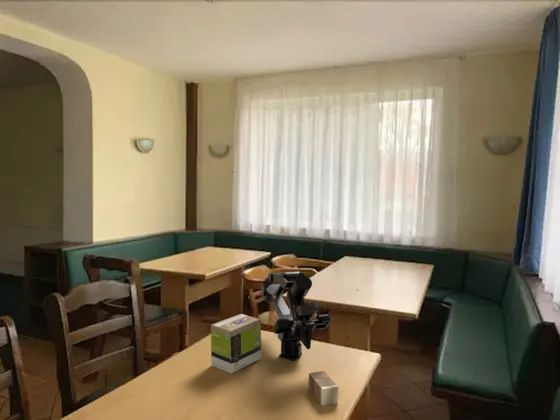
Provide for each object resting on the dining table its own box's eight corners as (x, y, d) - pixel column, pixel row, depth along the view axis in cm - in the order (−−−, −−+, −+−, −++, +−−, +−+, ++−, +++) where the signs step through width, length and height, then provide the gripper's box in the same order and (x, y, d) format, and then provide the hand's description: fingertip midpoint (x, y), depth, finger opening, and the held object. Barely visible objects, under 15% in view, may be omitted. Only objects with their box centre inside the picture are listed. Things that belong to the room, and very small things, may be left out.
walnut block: (308, 388, 131) (321, 405, 122) (308, 373, 131) (322, 389, 121) (323, 386, 133) (337, 403, 123) (323, 370, 132) (338, 386, 123)
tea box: (241, 351, 157) (241, 312, 156) (261, 359, 151) (262, 318, 149) (210, 365, 146) (210, 323, 144) (230, 375, 139) (231, 330, 138)
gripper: (276, 295, 138) (287, 342, 129) (330, 291, 144) (343, 335, 134) (269, 311, 146) (279, 356, 137) (320, 306, 152) (332, 349, 143)
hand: (308, 348), depth 137 cm, fingers closed
